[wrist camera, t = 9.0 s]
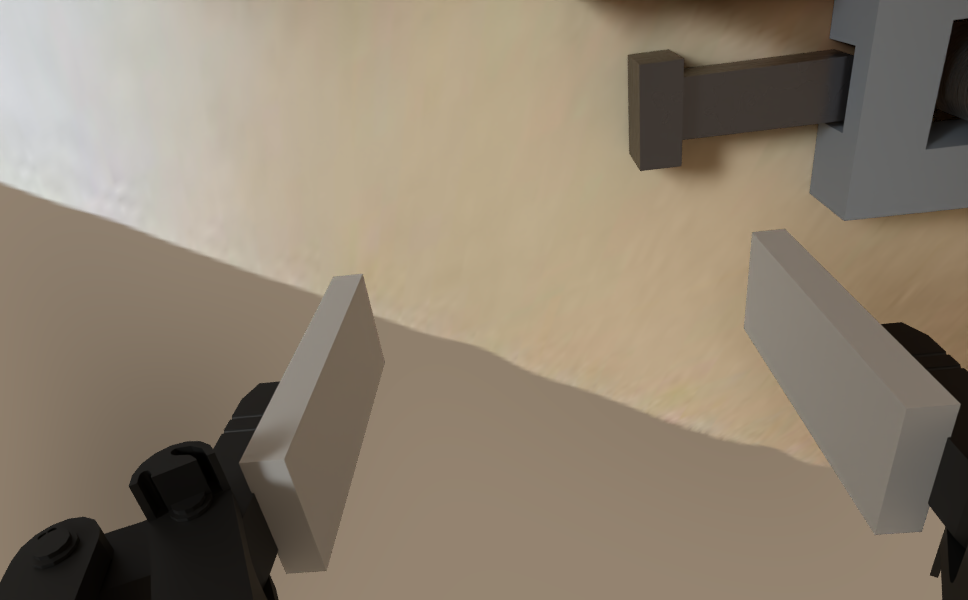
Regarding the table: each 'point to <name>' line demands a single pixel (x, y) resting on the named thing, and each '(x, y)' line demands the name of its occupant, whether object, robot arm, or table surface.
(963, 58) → the rod
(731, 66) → the dark grey t-shaped block
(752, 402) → the table surface
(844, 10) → the socket block
